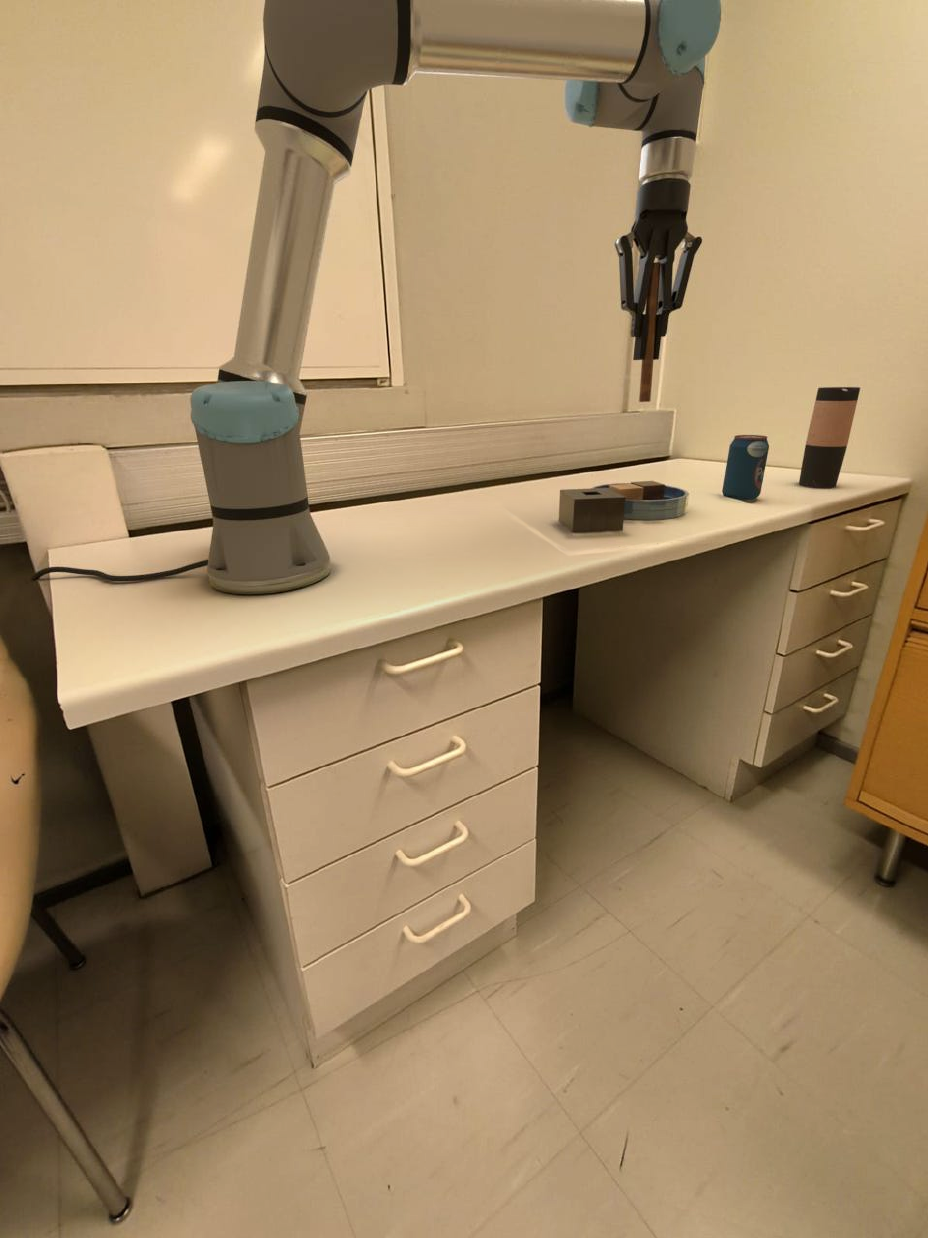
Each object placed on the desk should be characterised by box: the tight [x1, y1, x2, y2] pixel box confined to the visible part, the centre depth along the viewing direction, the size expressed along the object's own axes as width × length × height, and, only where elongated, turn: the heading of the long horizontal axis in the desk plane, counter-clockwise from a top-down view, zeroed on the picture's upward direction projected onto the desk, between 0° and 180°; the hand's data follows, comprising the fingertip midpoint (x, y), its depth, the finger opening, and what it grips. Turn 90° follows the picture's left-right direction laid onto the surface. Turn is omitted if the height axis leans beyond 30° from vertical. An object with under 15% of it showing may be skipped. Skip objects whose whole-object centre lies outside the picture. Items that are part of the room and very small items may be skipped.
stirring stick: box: [638, 261, 661, 403], centre depth 90 cm, size 2×2×20 cm
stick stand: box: [558, 487, 626, 534], centre depth 91 cm, size 8×8×6 cm
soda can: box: [721, 434, 770, 503], centre depth 110 cm, size 7×7×12 cm
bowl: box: [589, 482, 690, 521], centre depth 102 cm, size 17×17×4 cm
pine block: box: [609, 484, 644, 500], centre depth 101 cm, size 4×4×4 cm
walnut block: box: [630, 480, 666, 501], centre depth 103 cm, size 4×4×4 cm
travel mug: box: [798, 386, 861, 489], centre depth 120 cm, size 8×8×20 cm
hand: (645, 359), depth 92 cm, fingers closed on stirring stick, 2 cm apart
